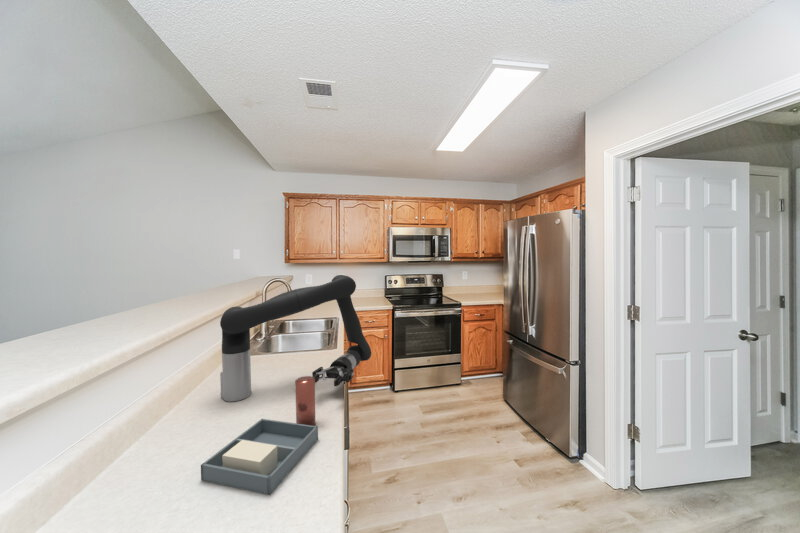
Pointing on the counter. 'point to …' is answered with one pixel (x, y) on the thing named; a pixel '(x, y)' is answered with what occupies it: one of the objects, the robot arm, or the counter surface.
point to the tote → (285, 435)
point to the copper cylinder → (305, 400)
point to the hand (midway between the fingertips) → (323, 382)
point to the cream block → (252, 457)
